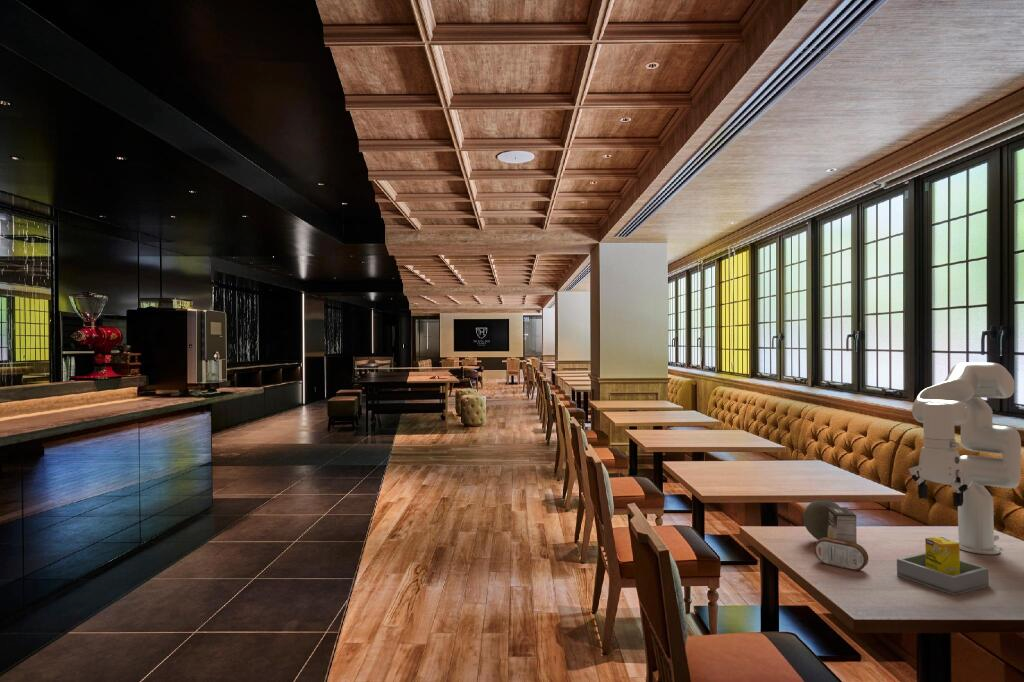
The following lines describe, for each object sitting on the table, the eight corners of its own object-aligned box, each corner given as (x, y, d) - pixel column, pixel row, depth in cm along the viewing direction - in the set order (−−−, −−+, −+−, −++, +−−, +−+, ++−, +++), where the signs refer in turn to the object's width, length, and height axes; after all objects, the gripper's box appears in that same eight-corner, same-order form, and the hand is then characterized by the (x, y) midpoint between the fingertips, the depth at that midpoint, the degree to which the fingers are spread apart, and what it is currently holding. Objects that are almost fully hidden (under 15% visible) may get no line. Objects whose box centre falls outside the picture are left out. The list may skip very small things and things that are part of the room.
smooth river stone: (822, 535, 217) (821, 494, 217) (858, 546, 204) (858, 503, 204) (795, 540, 211) (794, 498, 211) (830, 553, 198) (829, 508, 198)
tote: (930, 567, 185) (930, 551, 185) (988, 585, 170) (988, 568, 170) (897, 575, 178) (896, 558, 179) (954, 595, 164) (954, 577, 164)
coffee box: (826, 554, 197) (826, 506, 197) (847, 555, 196) (847, 507, 196) (836, 564, 188) (835, 513, 188) (858, 565, 187) (857, 514, 187)
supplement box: (925, 574, 177) (924, 537, 177) (942, 572, 178) (942, 536, 178) (942, 581, 171) (941, 544, 171) (960, 580, 172) (959, 542, 172)
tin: (868, 571, 182) (868, 544, 182) (866, 574, 180) (866, 546, 180) (816, 560, 192) (815, 534, 192) (813, 562, 190) (812, 536, 190)
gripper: (979, 447, 168) (980, 507, 168) (917, 439, 184) (918, 493, 184) (963, 449, 165) (964, 510, 165) (901, 441, 181) (902, 496, 181)
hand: (940, 501), depth 175 cm, fingers open, 9 cm apart
